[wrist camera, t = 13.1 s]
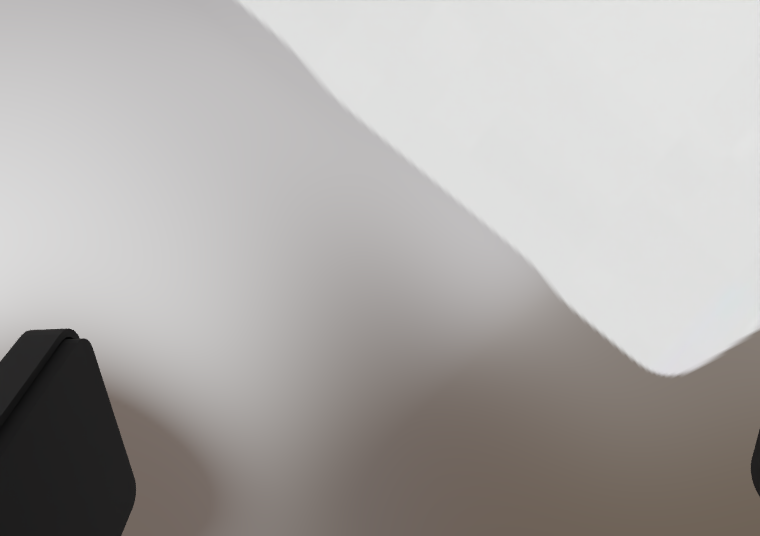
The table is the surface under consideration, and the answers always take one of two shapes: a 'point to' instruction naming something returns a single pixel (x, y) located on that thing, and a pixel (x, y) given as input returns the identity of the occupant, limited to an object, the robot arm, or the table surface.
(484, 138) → the table surface
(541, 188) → the table surface
